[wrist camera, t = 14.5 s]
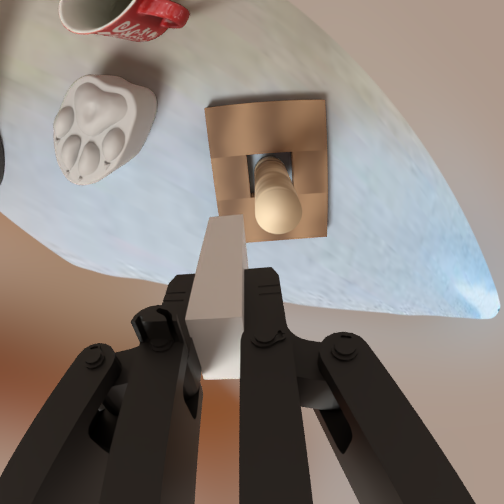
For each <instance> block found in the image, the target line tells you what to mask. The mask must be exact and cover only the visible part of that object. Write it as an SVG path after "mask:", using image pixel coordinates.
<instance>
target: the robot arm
mask: <svg viewBox="0 0 504 504" xmlns="http://www.w3.org/2000/svg"><path fill="white" fill-rule="evenodd" d="M3 172H4V153H3V147H2V142H1V139H0V184H1V181H2V178H3ZM131 324H132V326H133V328H134V330H135V332H136V335H137V337H138V339H139V341H140V345H139V346H138V347H135V348H132V349H129V350H125V351H121V352H116V353H115V352H114V351H113V349H112V348H111V346H109V345H107V344H102V343H98V344H93V345H90V346H89V347H87V348H85V349H84V350H83V351H82V352H81V353H80V354H79V355H78V356H77V358H76V359H75V361H74V362H73V363H72V365H71V366H70V368H69V369H68V370H67V372H66V373H65V375H64V376H63V377H62V379H61V380H60V382H59V383H58V385H57V386H56V387H55V389H54V390H53V392H52V393H51V395H50V396H49V398H48V399H47V401H46V402H45V404H44V405H43V407H42V408H41V410H40V411H39V413H38V414H37V416H36V418H35V419H34V421H33V422H32V424H31V426H30V427H29V429H28V430H27V432H26V434H25V435H24V437H23V438H22V440H21V442H20V443H19V445H18V447H17V448H16V450H15V452H14V453H13V455H12V457H11V459H10V460H9V462H8V464H7V466H6V468H5V469H4V471H3V473H2V475H1V477H0V504H194V502H195V485H196V471H197V470H196V469H197V456H198V444H199V432H200V419H201V409H202V399H203V391H202V386H201V384H200V378H201V371H202V374H203V377H204V379H238V378H240V431H239V432H240V433H239V441H240V442H239V446H240V447H239V450H240V451H239V455H240V456H239V504H313V501H312V492H311V483H310V474H309V466H308V458H307V450H306V443H305V435H304V427H303V420H302V412H301V406H302V407H308V408H313V410H314V412H315V414H316V416H317V418H318V420H319V422H320V424H321V426H322V428H323V430H324V432H325V434H326V436H327V438H328V440H329V442H330V445H331V447H332V449H333V451H334V453H335V455H336V457H337V459H338V461H339V463H340V465H341V467H342V469H343V471H344V473H345V475H346V477H347V479H348V481H349V483H350V485H351V487H352V489H353V491H354V493H355V495H356V497H357V499H358V501H359V503H360V504H475V502H474V500H473V499H472V497H471V495H470V494H469V492H468V491H467V489H466V487H465V486H464V484H463V482H462V481H461V479H460V478H459V476H458V475H457V473H456V472H455V470H454V469H453V467H452V465H451V464H450V462H449V461H448V459H447V457H446V456H445V455H444V453H443V451H442V450H441V448H440V447H439V445H438V444H437V442H436V441H435V439H434V438H433V436H432V435H431V433H430V432H429V430H428V429H427V427H426V426H425V424H424V423H423V422H422V420H421V419H420V417H419V416H418V414H417V413H416V411H415V410H414V408H413V407H412V405H411V404H410V403H409V401H408V400H407V398H406V397H405V395H404V394H403V393H402V391H401V390H400V388H399V387H398V385H397V384H396V383H395V381H394V380H393V378H392V377H391V376H390V374H389V373H388V371H387V370H386V369H385V367H384V366H383V364H382V363H381V362H380V360H379V359H378V358H377V356H376V355H375V354H374V352H373V351H372V350H371V348H370V347H369V345H368V344H367V343H366V342H365V341H364V340H363V339H362V338H361V337H360V336H358V335H355V334H353V333H348V332H338V333H333V334H331V335H329V336H327V337H326V338H325V339H324V340H323V341H322V342H315V341H308V340H305V339H301V338H299V337H297V336H295V335H294V334H293V333H292V332H291V331H290V330H289V329H288V327H287V324H286V319H285V312H284V306H283V300H282V294H281V287H280V281H279V275H278V274H277V273H276V272H275V270H274V269H273V268H272V267H267V268H254V269H248V259H247V249H246V239H245V229H244V219H243V214H241V215H229V216H218V217H210V218H209V221H208V225H207V229H206V233H205V237H204V241H203V245H202V249H201V253H200V257H199V261H198V265H197V269H196V274H183V275H176V276H175V277H174V279H173V280H172V281H171V282H170V283H169V285H168V288H167V291H166V295H165V297H164V300H163V303H162V305H156V306H150V307H147V308H145V309H143V310H141V311H140V312H139V313H137V314H136V315H135V316H134V317H133V319H132V320H131Z"/></svg>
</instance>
